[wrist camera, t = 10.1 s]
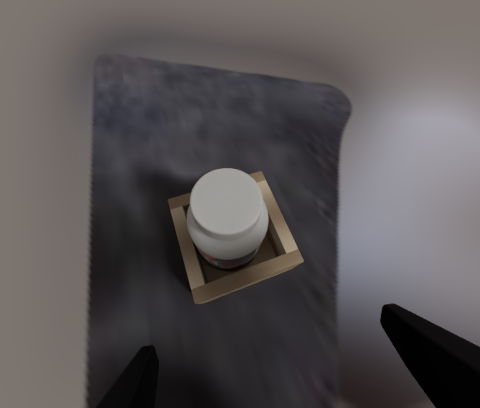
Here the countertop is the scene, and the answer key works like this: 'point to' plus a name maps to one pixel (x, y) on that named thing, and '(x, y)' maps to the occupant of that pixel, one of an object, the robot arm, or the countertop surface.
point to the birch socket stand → (261, 267)
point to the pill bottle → (227, 218)
